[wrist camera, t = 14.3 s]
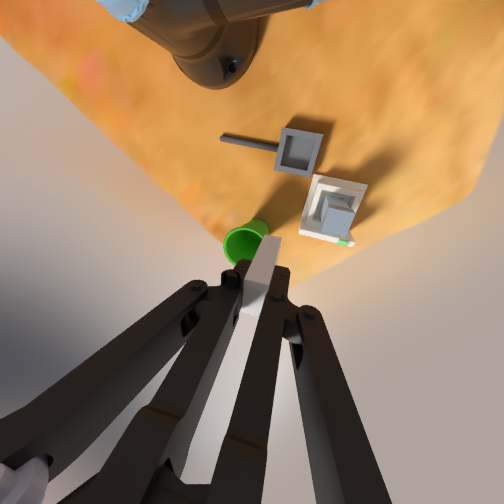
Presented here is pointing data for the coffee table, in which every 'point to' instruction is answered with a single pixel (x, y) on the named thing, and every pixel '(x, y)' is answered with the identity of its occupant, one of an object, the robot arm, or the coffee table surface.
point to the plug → (336, 216)
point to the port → (316, 194)
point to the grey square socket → (297, 151)
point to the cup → (245, 240)
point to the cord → (249, 143)
